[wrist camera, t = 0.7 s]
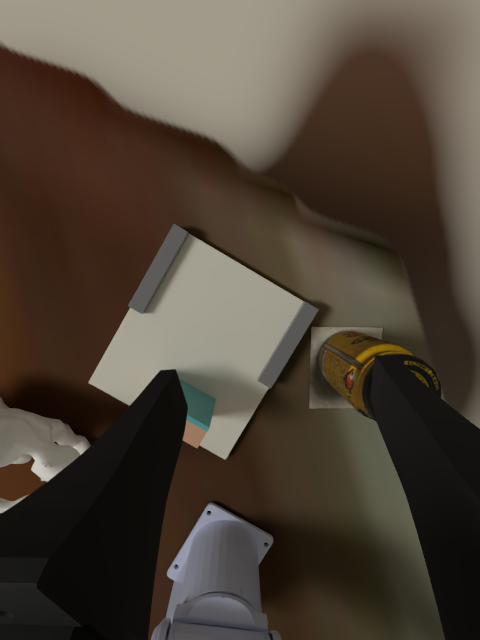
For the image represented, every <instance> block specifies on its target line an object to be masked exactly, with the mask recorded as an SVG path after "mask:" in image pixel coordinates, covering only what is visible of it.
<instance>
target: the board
mask: <svg viewBox="0 0 480 640" xmlns="http://www.w3.org/2000/svg"><path fill="white" fill-rule="evenodd" d="M128 306H129V307H130V309H129V311H128V313H127V315H126V316H125V318H124V320H123V322H122V323H121V325H120V327H119V329H118V331H117V332H116V334H115V336H114V338H113V340H112V341H111V343H110V345H109V347H108V349H107V350H106V352H105V354H104V356H103V357H102V359H101V361H100V363H99V365H98V366H97V368H96V370H95V372H94V374H93V375H92V377H91V379H90V381H89V382H88V383H90V384H92V385H93V386H95V387H97V388H99V389H101V390H102V391H104V392H106V393H108V394H109V395H111V396H113V397H115V398H117V399H118V400H120V401H122V402H124V403H125V404H127V405H129V406H130V405H131V404H132V403H133V402H134V400H135V399H136V398H137V397H138V396H139V395H140V393H141V392H142V391H143V390H144V389H145V387H146V386H147V385H148V384H149V383H150V382H151V380H152V379H153V378H154V377H155V376H156V375H157V373H158V372H159V371H160V370H170V369H176V371H177V374H178V377H179V379H181V380H182V381H184V382H186V383H188V384H189V385H191V386H193V387H195V388H196V389H198V390H200V391H202V392H203V393H205V394H207V395H209V396H210V397H212V398H214V399H216V402H215V406H214V410H213V415H212V419H211V424H210V428H209V429H208V431H207V433H206V435H205V436H204V438H203V440H202V441H201V443H200V446H202V447H204V448H205V449H207V450H209V451H211V452H212V453H214V454H216V455H218V456H219V457H221V458H223V459H226V458H227V456H228V454H229V453H230V451H231V450H232V448H233V446H234V445H235V443H236V441H237V440H238V438H239V436H240V435H241V433H242V431H243V430H244V428H245V426H246V425H247V423H248V421H249V420H250V418H251V416H252V415H253V413H254V412H255V410H256V408H257V407H258V405H259V403H260V402H261V400H262V398H263V397H264V395H265V393H266V392H267V390H268V388H272V386H273V385H274V383H275V381H276V380H277V378H278V376H279V375H280V373H281V371H282V370H283V368H284V366H285V365H286V363H287V361H288V360H289V358H290V356H291V355H292V353H293V351H294V350H295V348H296V347H297V345H298V343H299V342H300V340H301V338H302V337H303V335H304V333H305V332H306V330H307V328H308V327H309V325H310V323H311V322H312V320H313V318H314V317H315V315H316V314H317V312H318V310H319V309H317V308H315V307H314V306H312V305H310V304H309V303H307V302H304V301H302V300H300V299H299V298H297V297H295V296H294V295H292V294H290V293H289V292H287V291H285V290H283V289H282V288H280V287H278V286H277V285H275V284H273V283H272V282H270V281H268V280H267V279H265V278H263V277H261V276H260V275H258V274H256V273H255V272H253V271H251V270H250V269H248V268H246V267H245V266H243V265H241V264H240V263H238V262H236V261H234V260H233V259H231V258H229V257H228V256H226V255H224V254H223V253H221V252H219V251H218V250H216V249H214V248H213V247H211V246H209V245H207V244H206V243H204V242H202V241H201V240H199V239H197V238H196V237H194V236H192V235H191V234H189V233H188V232H187V231H185V230H184V229H182V228H180V227H179V226H177V225H175V224H174V225H173V226H172V228H171V230H170V232H169V234H168V235H167V237H166V239H165V241H164V243H163V244H162V246H161V248H160V250H159V251H158V253H157V255H156V257H155V259H154V260H153V262H152V264H151V266H150V268H149V269H148V271H147V273H146V275H145V277H144V278H143V280H142V282H141V284H140V286H139V287H138V289H137V291H136V293H135V294H134V296H133V298H132V300H131V302H130V303H129V305H128Z"/></svg>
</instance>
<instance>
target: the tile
mask: <svg viewBox="0 0 480 640" xmlns="http://www.w3.org/2000/svg"><path fill="white" fill-rule="evenodd" d="M179 380H180V383H181V387H182V390H183V393H184V396H185V399H186V402H187V405H188V411H187V419H186V426H185V433H184V436H183V441H185V442H187V443H188V444H190V445H192V446H194V447H195V448H198V446H199V445H200V443H201V441H202V440H203V438H204V436H205V435H206V433H207V431H208V429H209V428H210V424H211V419H212V415H213V410H214V406H215V402H216V399H214V398H212V397H210V396H209V395H207V394H205V393H203V392H202V391H200V390H198V389H196V388H195V387H193V386H191V385H189V384H188V383H186V382H184V381H182V380H181V379H179Z"/></svg>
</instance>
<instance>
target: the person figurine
mask: <svg viewBox="0 0 480 640" xmlns="http://www.w3.org/2000/svg"><path fill="white" fill-rule="evenodd" d="M55 441H56V442H57V443H58V444H59V445H57V444H55V443H54V442H55ZM89 447H90V444H89V441H88V440H87V439H86V438H85V437H84V436H80V435H75V434H74V432H73V431H72V429H71V428H70V426H69V425H68V424H64V423H63V422H62V421H60V420H58V419H52V418H46V417H42V416H40V415H37V414H34V413H30V412H27V411H24V410H21V409H16V408H9V407H8V406H7V405H5V404H4V402H3V399H2V398H1V397H0V467H3V466H7V465H9V464H11V463H13V464H23V463H26V462H28V461H30V460H31V457H33V458H34V460H35V462H34V464H33V466H32V469H31V470H32V471H33V472H34V473H35V474H37V475H38V476H39V477H41V481H47V482H48V481H49V480H50V479H52V478H53V477H54V476H55V475H57V474H58V473H59V472H60V471H62V470H63V469H64V468H65V467H67V466H68V465H69V464H70V463H72V462H73V461H74V460H75V459H76V458H78V457H79V456H80V455H81V454H82V453H83V452H84V451H86V450H87V449H88V448H89ZM29 495H30V494H29ZM27 496H28V495H26V496H24V497H22V498H20V499H18V500H16V501H8V500H5V499H2V498H0V513H3V512H5V511H6V510H8V509H9V508H11V507H12V506H14V505H15V504H17V503H18V502H20V501H21V500H22V499H24V498H25V497H27Z"/></svg>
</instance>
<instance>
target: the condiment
mask: <svg viewBox="0 0 480 640" xmlns="http://www.w3.org/2000/svg"><path fill="white" fill-rule="evenodd" d="M382 331H383V328H372V327H311V355H310V359H311V360H310V404H309V408H355V409H356V410H357V411H358V412H359V413H361V414H362V415H364V416H366V417H368V418H370V419H373V420H375V421H376V422H377V420H376V417H375V413H374V409H373V405H372V402H371V398H370V396H371V386H372V377H373V367H374V357H375V356H376V355H391V354H393V355H394V356H396V357H397V358H398V359H399V360H400V361H401V362H402V363H403V364H404V365H405V366H406V367H407V368H408V369H409V370H410V371H411V372H412V373H413V374H414V375H416V376H417V377H418V378H419V379H420V380H421V381H422V382H423V383H424V384H425V385H426V386H428V387H429V388H430V389H431V390H432V391H433V392H434V393H436V394H437V395H438V396H439V397H440V398H441V384H440V382H439V380H438V378H437V376H436V372H435V371H434V370H433V369H432V368H431V367H430V366H429V365H428V364H427V363H425V362H424V361H423V360H421V359H420V358H416V357H415V356H414V355H413V354H412V353H410V352H409V351H408V350H406V349H405V348H403V347H401V346H398V345H396V344H394V343H389V342H386V341H383V340H382ZM321 378H323V379H321Z"/></svg>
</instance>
